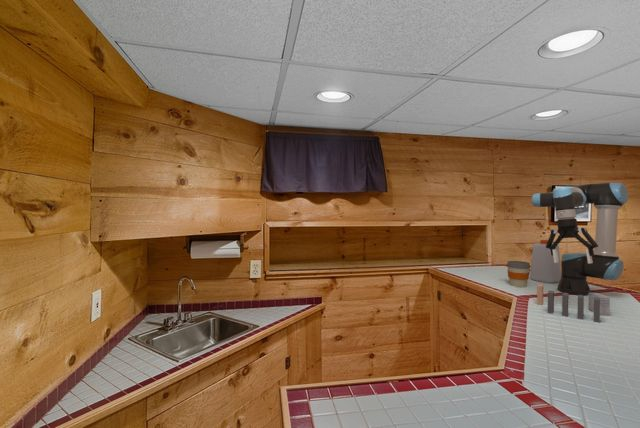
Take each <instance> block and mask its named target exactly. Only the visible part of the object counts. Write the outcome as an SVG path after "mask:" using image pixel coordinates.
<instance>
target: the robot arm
mask: <svg viewBox="0 0 640 428" xmlns="http://www.w3.org/2000/svg"><path fill="white" fill-rule="evenodd" d="M628 199H629V193H628V189H627V187H626V186H625V185H624V183H622V182H604V183H603V182H602V183H587V184H582V185H577V186H563V187H556V188H554V189H553V190H552V191H550V192H549V191H548V192H539V193H533V195H532V196H531V205H532V207H533V206H534V207H538V208H548V207H550V208H554V210H555V218H556V219H557V221H556V225H557V229H551V230H550V236H549V237H548V239H547V240H548V242H547V244H546V248H549V249H550V250H551V255H552V256H553V257H554V263H557V262H559V260H558V253H557V249H555V248H556V246H557V245H558V246H559V244H560V243H561V242H562V240H563V239H569V238H570V239H573V238H574V239H575V240H577V241H579V242H580V243H581V244H582V245H583V246H585V247H586V249H585V252H586V253H584V252H583V253H582V252H571V253H564V254H562V255H561V259H560V267H561V279H560V282H558V284H557V290H558V291H559V292H562V293H569V294H570V295H577V296H578V295H584V296H589V293H591V288H590V286H589V283H588V280H587V277H588V278H595V279H600V280H606V281H617V280H618V279H619V278H620V277H621V276H622V274H623V270H624V261H623V260H621V259H620V257H619V255H618V254H617V253H616V248H617V233H618V232H617V230H618V216H619V210H620V209H622V208H623V204H626V203H628V201H629V200H628ZM585 204H589V205H593V207H594V209H596V220H595V223H596V225H595V235H594V236H595V237H594V239H593V236H592V235H590V234H589V232H588V229H587V227H581V228H579V227H578V220H577V214H576V213H577V212H576V208H579V207H582V206H584V205H585ZM579 232H580V233H582V235H583V237H585V239H584V238H583V237H582V236H581V235H580V234H579ZM557 234H559V235H558V236H557V238H556V239H555V237H556V235H557ZM554 240H555V241H554ZM551 245H552V246H551Z"/></svg>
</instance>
